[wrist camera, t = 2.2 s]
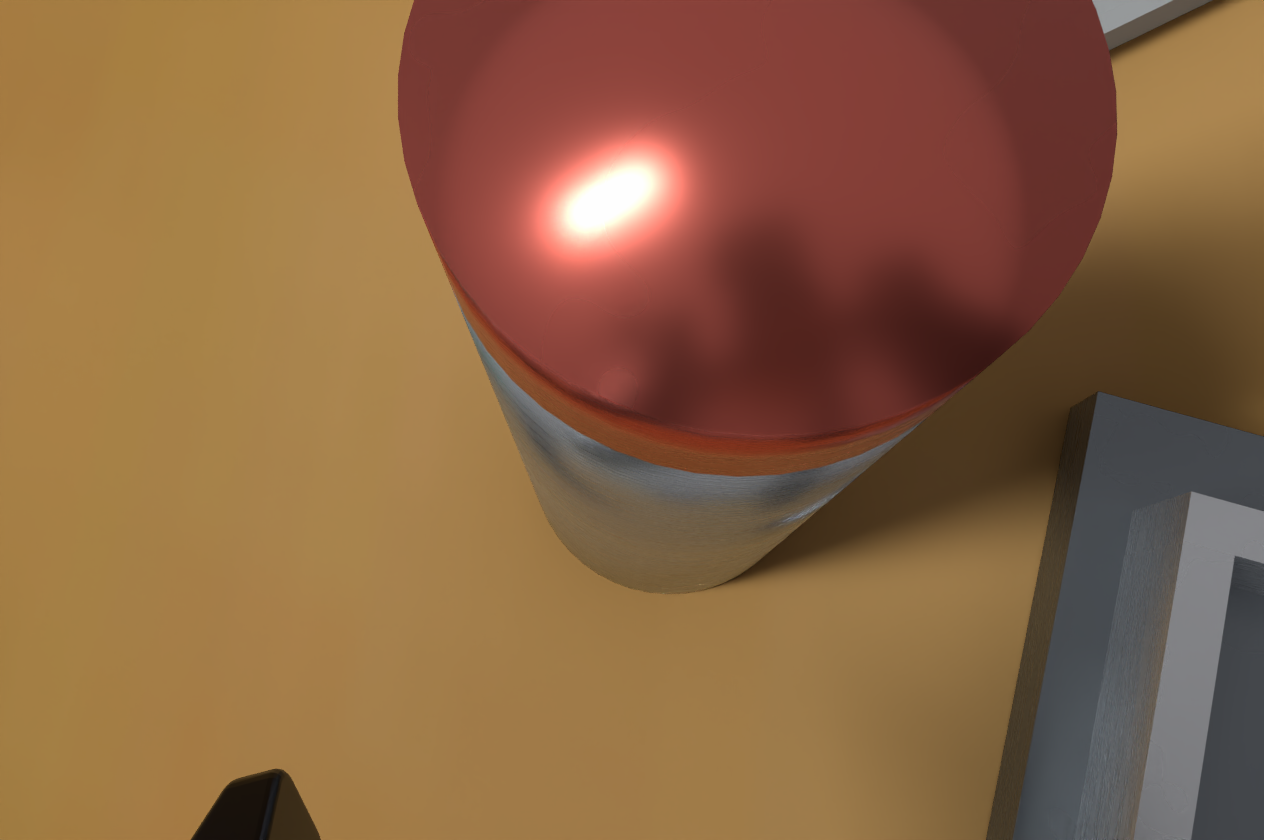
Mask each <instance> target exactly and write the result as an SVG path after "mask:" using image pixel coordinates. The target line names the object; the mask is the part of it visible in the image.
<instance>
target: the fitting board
mask: <svg viewBox="0 0 1264 840" xmlns="http://www.w3.org/2000/svg"><path fill="white" fill-rule="evenodd" d="M986 840H1264V437H1263V436H1259V435H1256V434H1252V433H1248V432H1245V431H1241V430H1237V429H1234V428H1230V427H1227V426H1223V425H1219V424H1216V423H1212V422H1208V421H1205V420H1201V419H1197V418H1194V417H1190V416H1186V415H1183V414H1179V413H1175V412H1172V411H1168V410H1164V409H1161V408H1157V407H1153V406H1150V405H1146V404H1142V403H1139V402H1135V401H1131V400H1128V399H1124V398H1120V397H1117V396H1113V395H1109V394H1106V393H1102V392H1096V393H1095V394H1093V395H1091V396H1090V397H1088V398H1086V399H1085V400H1083V401H1081V402H1080V403H1078V404H1076V405H1075V406H1073V407H1072V408H1071V409H1070V414H1069V419H1068V424H1067V430H1066V435H1065V440H1064V445H1063V450H1062V455H1061V460H1060V465H1059V470H1058V475H1057V481H1056V486H1055V491H1054V496H1053V501H1052V506H1051V511H1050V516H1049V521H1048V526H1047V532H1046V537H1045V542H1044V547H1043V552H1042V557H1041V562H1040V567H1039V572H1038V577H1037V582H1036V588H1035V593H1034V598H1033V603H1032V608H1031V613H1030V618H1029V623H1028V628H1027V633H1026V639H1025V644H1024V649H1023V654H1022V659H1021V664H1020V669H1019V674H1018V679H1017V684H1016V690H1015V695H1014V700H1013V705H1012V710H1011V715H1010V720H1009V725H1008V730H1007V735H1006V740H1005V746H1004V751H1003V756H1002V761H1001V766H1000V771H999V776H998V781H997V786H996V791H995V797H994V802H993V807H992V812H991V817H990V822H989V827H988V832H987V837H986Z"/></svg>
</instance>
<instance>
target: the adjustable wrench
mask: <svg viewBox="0 0 1264 840" xmlns="http://www.w3.org/2000/svg"><path fill="white" fill-rule="evenodd" d="M1092 1H1093V3H1094V6H1095V8H1096V10H1097V13H1098V16H1099V20H1100V23H1101V26H1102V29H1103V32H1104V35H1105V39H1106V42H1107V45H1108V48H1109V50H1111V49H1113V48H1115V47H1117V46H1119V45H1121V44H1123V43H1125V42H1128V41H1130V40H1132V39H1134V38H1136V37H1138V36H1140V35H1142V34H1144V33H1146V32H1148V31H1150V30H1152V29H1154V28H1156V27H1159V26H1161V25H1163V24H1165V23H1167V22H1169V21H1171V20H1173V19H1175V18H1177V17H1179V16H1181V15H1183V14H1185V13H1187V12H1189V11H1192V10H1194V9H1196V8H1198V7H1200V6H1202V5H1204V4H1206V3H1208V2H1210V1H1212V0H1092Z"/></svg>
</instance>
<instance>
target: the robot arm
mask: <svg viewBox="0 0 1264 840" xmlns="http://www.w3.org/2000/svg"><path fill="white" fill-rule="evenodd" d="M191 840H321V839H320V836H319V833H318V831H317V829H316V827H315V825H314V823H313V821H312V819H311V817H310V815H309V813H308V811H307V809H306V807H305V805H304V803H303V801H302V799H301V797H300V795H299V793H298V790H297V788H296V786H295V784H294V782H293V781H292V779H291V777H290V776H289V775H288V774H287V773H286V772H285V771H284V770H282V769H272V770H268V771H264V772H261V773H257V774H253V775H249V776H245V777H242V778H238V779H235V780H233V781H232V782H230V783H229V784H228V785H227V786H226V787H225V788H224V790H223V791H222V792H221V794H220V796H219V797H218V799H217V800H216V802H215V803H214V805H213V806H212V808H211V809H210V811H209V812H208V814H207V815H206V817H205V819H204V820H203V822H202V823H201V825H200V826H199V828H198V829H197V831H196V832H195V834H194V835H193V837H192V838H191Z"/></svg>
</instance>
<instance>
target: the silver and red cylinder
mask: <svg viewBox="0 0 1264 840" xmlns="http://www.w3.org/2000/svg"><path fill="white" fill-rule="evenodd" d="M398 120H399V127H400V134H401V140H402V147H403V154H404V161H405V164H406V168H407V171H408V174H409V178H410V181H411V184H412V188H413V191H414V194H415V198H416V201H417V204H418V207H419V209H420V212H421V214H422V217H423V219H424V221H425V224H426V226H427V229H428V231H429V234H430V236H431V238H432V241H433V243H434V246H435V248H436V251H437V253H438V255H439V258H440V260H441V263H442V265H443V268H444V270H445V273H446V275H447V277H448V280H449V282H450V285H451V287H452V290H453V292H454V294H455V297H456V299H457V302H458V304H459V307H460V309H461V312H462V314H463V316H464V319H465V321H466V324H467V326H468V329H469V331H470V333H471V336H472V338H473V341H474V343H475V346H476V348H477V351H478V353H479V355H480V358H481V360H482V363H483V365H484V368H485V370H486V372H487V375H488V377H489V380H490V382H491V385H492V387H493V390H494V392H495V394H496V397H497V399H498V402H499V404H500V407H501V409H502V411H503V414H504V416H505V419H506V421H507V424H508V426H509V429H510V431H511V433H512V436H513V438H514V441H515V443H516V446H517V448H518V450H519V453H520V455H521V458H522V460H523V463H524V465H525V468H526V470H527V472H528V475H529V477H530V480H531V482H532V485H533V487H534V489H535V492H536V494H537V497H538V499H539V502H540V504H541V506H542V509H543V511H544V513H545V515H546V517H547V520H548V522H549V524H550V525H551V527H552V528H553V530H554V532H555V533H556V535H557V536H558V538H559V539H560V540H561V541H562V543H563V544H564V545H565V546H566V547H567V549H568V550H569V551H570V552H571V553H572V554H573V555H574V556H575V557H576V558H578V559H579V560H580V561H581V562H582V563H583V564H584V565H586V566H587V567H589V568H590V569H592V570H593V571H594V572H596V573H597V574H599V575H601V576H603V577H605V578H607V579H608V580H610V581H612V582H614V583H617V584H620V585H623V586H625V587H628V588H631V589H635V590H640V591H644V592H649V593H660V594H680V593H689V592H695V591H700V590H705V589H708V588H711V587H714V586H717V585H720V584H722V583H724V582H727V581H729V580H731V579H733V578H735V577H737V576H738V575H740V574H741V573H743V572H745V571H746V570H748V569H749V568H751V567H752V566H753V565H754V564H756V563H757V562H758V561H759V560H760V559H761V558H763V557H764V556H765V555H766V554H767V553H769V552H770V551H771V550H772V549H773V548H774V547H776V546H777V545H778V544H779V543H780V542H782V541H783V540H784V539H785V538H786V537H787V536H789V535H790V534H791V533H792V532H793V531H795V530H796V529H797V528H798V527H799V526H800V525H802V524H803V523H804V522H805V521H806V520H807V519H809V518H810V517H811V516H812V515H813V514H815V513H816V512H817V511H818V510H819V509H820V508H822V507H823V506H824V505H825V504H826V503H828V502H829V501H830V500H831V499H832V498H833V497H835V496H836V495H837V494H838V493H839V492H840V491H842V490H843V489H844V488H845V487H846V486H848V485H849V484H850V483H851V482H852V481H853V480H855V479H856V478H857V477H858V476H859V475H861V474H862V473H863V472H864V471H865V470H866V469H868V468H869V467H870V466H871V465H872V464H874V463H875V462H876V461H877V460H878V459H879V458H881V457H882V456H883V455H884V454H885V453H886V452H888V451H889V450H890V449H891V448H892V447H894V446H895V445H896V444H897V443H898V442H899V441H901V440H902V439H903V438H904V437H905V436H907V435H908V434H909V433H910V432H911V431H912V430H914V429H915V428H916V427H917V426H918V425H920V424H921V423H922V422H923V421H924V420H925V419H927V418H928V417H929V416H930V415H931V414H932V413H934V412H935V411H936V410H937V409H938V408H940V407H941V406H942V405H943V404H944V403H945V402H947V401H948V400H949V399H950V398H951V397H953V396H954V395H955V394H956V393H957V392H958V391H960V390H961V389H962V388H963V387H964V386H965V385H967V384H968V383H969V382H970V381H971V380H973V379H974V378H975V377H976V376H977V375H978V374H980V373H981V372H982V371H983V370H984V369H986V368H987V367H988V366H989V365H990V364H991V363H993V362H994V361H995V360H996V359H997V358H998V357H1000V356H1001V355H1002V354H1003V353H1004V352H1005V351H1006V350H1008V349H1009V348H1010V347H1011V346H1012V345H1013V344H1014V343H1016V342H1017V341H1018V340H1019V339H1020V338H1021V337H1022V336H1024V335H1025V334H1026V333H1027V332H1028V331H1029V330H1030V329H1031V328H1032V327H1033V326H1034V324H1035V323H1036V322H1037V321H1038V320H1039V319H1040V317H1041V316H1042V315H1043V314H1044V313H1045V312H1046V310H1047V309H1048V308H1049V307H1050V306H1051V305H1052V303H1053V302H1054V301H1055V300H1056V299H1057V298H1058V296H1059V295H1060V293H1061V292H1062V290H1063V289H1064V287H1065V286H1066V284H1067V282H1068V281H1069V279H1070V278H1071V276H1072V274H1073V273H1074V271H1075V270H1076V268H1077V267H1078V265H1079V263H1080V262H1081V260H1082V259H1083V256H1084V254H1085V252H1086V250H1087V247H1088V245H1089V243H1090V241H1091V238H1092V236H1093V234H1094V232H1095V229H1096V227H1097V225H1098V223H1099V220H1100V218H1101V214H1102V211H1103V207H1104V203H1105V200H1106V196H1107V193H1108V189H1109V185H1110V182H1111V178H1112V172H1113V163H1114V155H1115V147H1116V139H1117V111H1116V88H1115V82H1114V76H1113V71H1112V65H1111V59H1110V53H1109V48H1108V45H1107V42H1106V39H1105V35H1104V32H1103V29H1102V26H1101V23H1100V20H1099V16H1098V13H1097V10H1096V8H1095V6H1094V3H1093V1H1092V0H414V3H413V6H412V9H411V13H410V16H409V19H408V23H407V26H406V29H405V33H404V39H403V46H402V53H401V60H400V66H399V73H398Z"/></svg>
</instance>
